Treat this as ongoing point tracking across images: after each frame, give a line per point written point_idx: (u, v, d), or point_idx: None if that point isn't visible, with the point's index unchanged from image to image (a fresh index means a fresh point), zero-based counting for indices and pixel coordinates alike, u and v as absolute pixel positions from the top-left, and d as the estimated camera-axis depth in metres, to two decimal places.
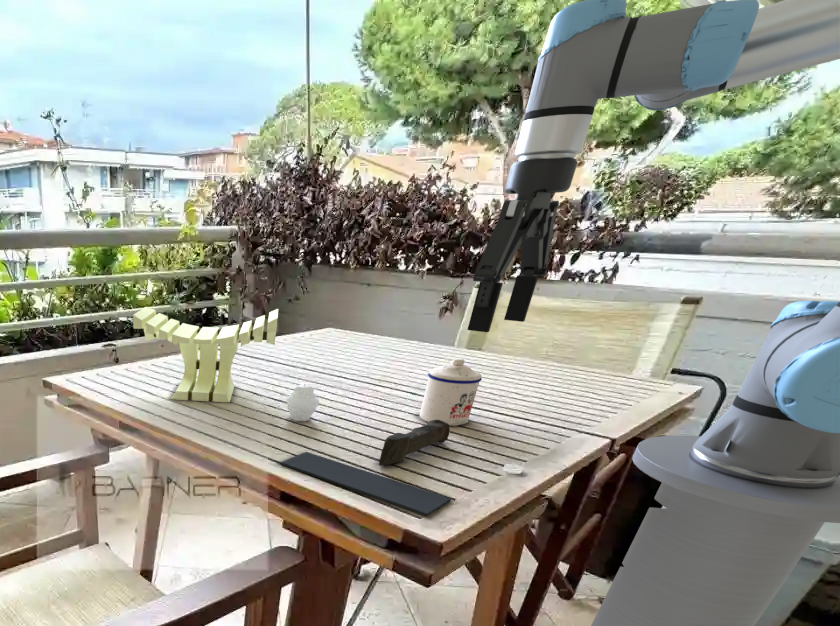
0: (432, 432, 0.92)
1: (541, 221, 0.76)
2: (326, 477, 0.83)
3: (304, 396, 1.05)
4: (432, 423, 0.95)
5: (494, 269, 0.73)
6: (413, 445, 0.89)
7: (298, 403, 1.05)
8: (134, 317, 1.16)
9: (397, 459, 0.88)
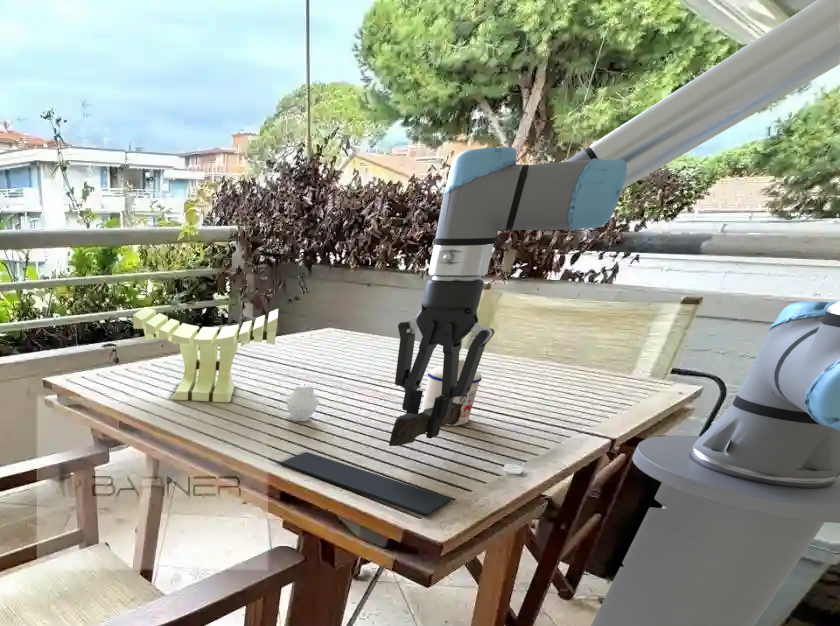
0: None
1: None
2: (326, 477, 0.83)
3: (304, 396, 1.05)
4: None
5: (469, 389, 0.83)
6: (424, 426, 0.87)
7: (298, 403, 1.05)
8: (134, 317, 1.16)
9: (407, 440, 0.86)
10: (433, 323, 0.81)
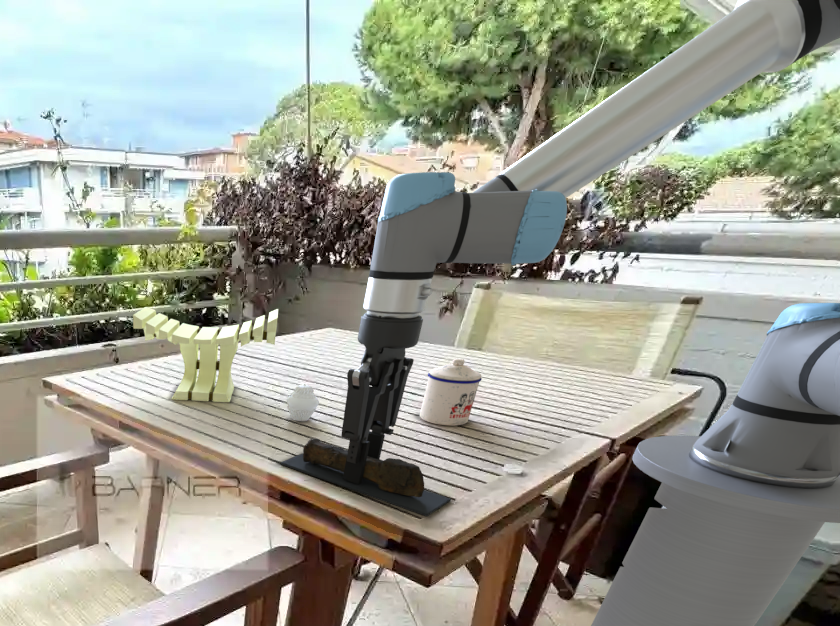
0: (344, 449, 0.85)
1: None
2: (326, 477, 0.83)
3: (304, 396, 1.05)
4: (318, 444, 0.86)
5: None
6: None
7: (298, 403, 1.05)
8: (134, 317, 1.16)
9: None
10: (393, 364, 0.72)
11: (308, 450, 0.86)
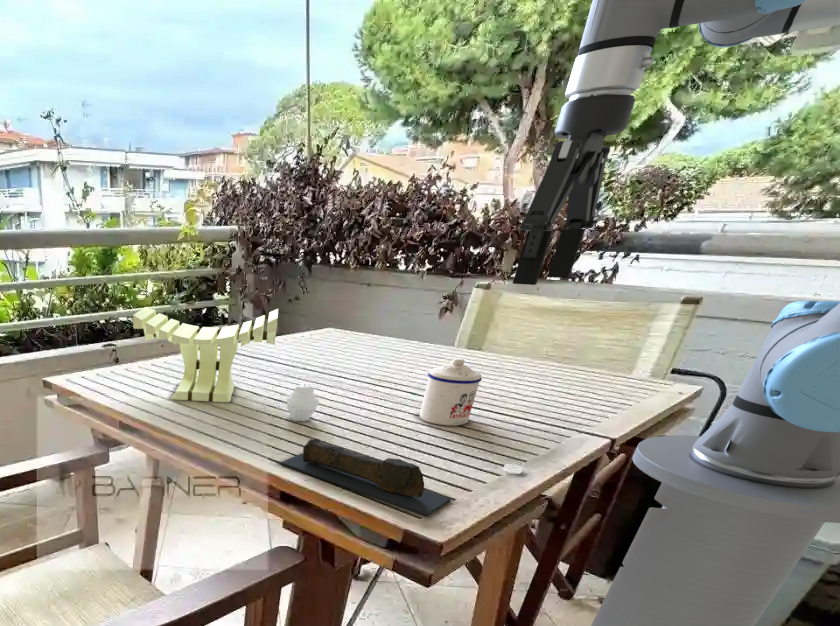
0: None
1: None
2: (326, 477, 0.83)
3: (304, 396, 1.05)
4: (318, 444, 0.86)
5: None
6: None
7: (298, 403, 1.05)
8: (134, 317, 1.16)
9: None
10: (596, 156, 0.70)
11: (308, 450, 0.86)
